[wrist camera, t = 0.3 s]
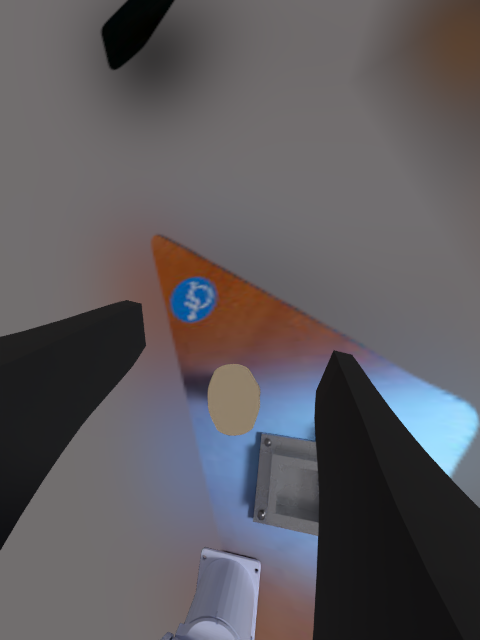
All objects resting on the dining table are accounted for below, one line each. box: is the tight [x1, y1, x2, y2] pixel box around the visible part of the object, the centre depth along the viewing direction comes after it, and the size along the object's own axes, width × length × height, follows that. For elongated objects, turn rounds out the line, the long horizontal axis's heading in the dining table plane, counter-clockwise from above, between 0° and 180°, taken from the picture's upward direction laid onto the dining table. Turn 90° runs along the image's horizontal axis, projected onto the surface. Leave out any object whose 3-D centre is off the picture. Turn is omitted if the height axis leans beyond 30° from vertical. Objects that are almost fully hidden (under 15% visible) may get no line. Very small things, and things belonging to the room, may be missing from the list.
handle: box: [208, 364, 260, 436], centre depth 31 cm, size 5×6×15 cm
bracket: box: [253, 432, 319, 536], centre depth 32 cm, size 11×11×4 cm
